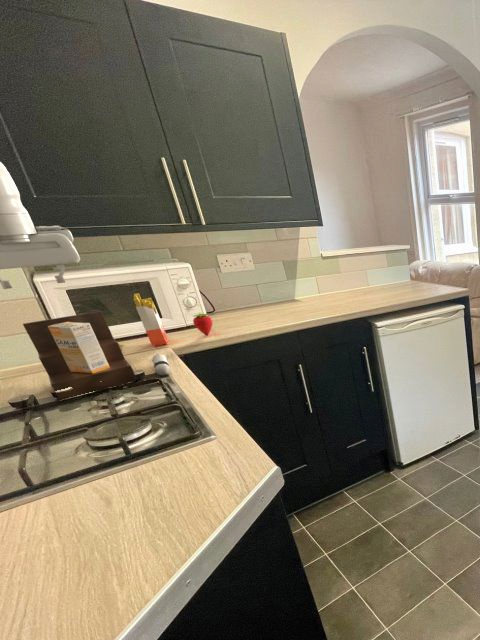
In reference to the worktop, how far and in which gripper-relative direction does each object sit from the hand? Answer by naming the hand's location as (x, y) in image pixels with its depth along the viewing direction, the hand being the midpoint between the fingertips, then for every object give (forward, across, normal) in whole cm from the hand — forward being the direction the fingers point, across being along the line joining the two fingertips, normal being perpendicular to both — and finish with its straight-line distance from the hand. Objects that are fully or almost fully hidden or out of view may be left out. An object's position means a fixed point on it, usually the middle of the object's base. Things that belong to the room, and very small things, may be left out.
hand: (35, 285), depth 106 cm
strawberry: (+28, -38, -30) cm, 55 cm away
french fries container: (+28, -24, -32) cm, 49 cm away
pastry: (+28, -8, -35) cm, 46 cm away
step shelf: (+28, -3, 0) cm, 28 cm away
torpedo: (+28, -18, +2) cm, 33 cm away
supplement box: (+23, -3, +4) cm, 24 cm away
